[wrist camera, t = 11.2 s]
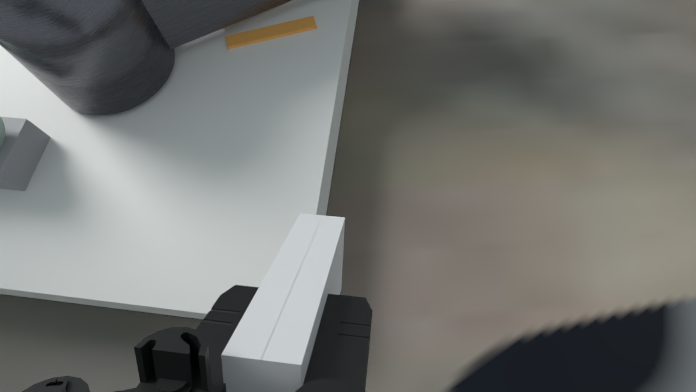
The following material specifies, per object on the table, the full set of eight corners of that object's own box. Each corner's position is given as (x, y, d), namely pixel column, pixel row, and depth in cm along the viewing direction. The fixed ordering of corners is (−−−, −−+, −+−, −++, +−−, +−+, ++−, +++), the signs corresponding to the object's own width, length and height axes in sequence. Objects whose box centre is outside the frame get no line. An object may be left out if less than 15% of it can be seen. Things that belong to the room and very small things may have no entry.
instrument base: (-112, 279, 21) (-320, 237, 15) (70, -39, 31) (-9, -148, 24) (307, 332, 19) (278, 309, 13) (363, -26, 29) (361, -141, 22)
